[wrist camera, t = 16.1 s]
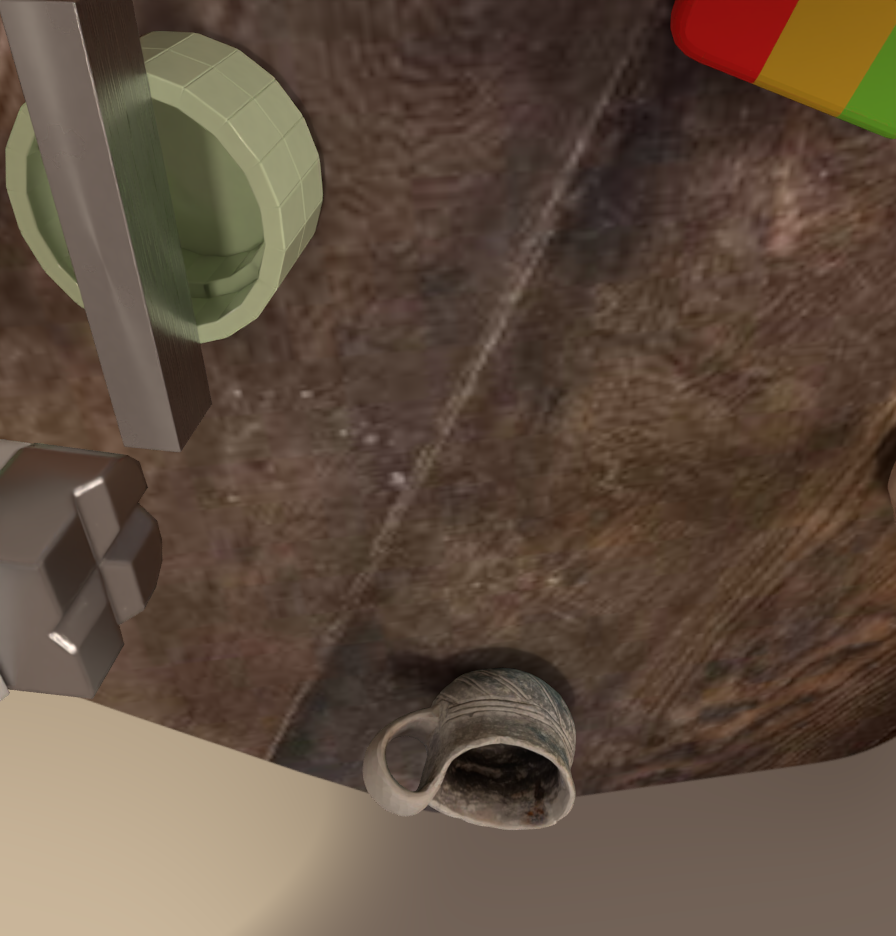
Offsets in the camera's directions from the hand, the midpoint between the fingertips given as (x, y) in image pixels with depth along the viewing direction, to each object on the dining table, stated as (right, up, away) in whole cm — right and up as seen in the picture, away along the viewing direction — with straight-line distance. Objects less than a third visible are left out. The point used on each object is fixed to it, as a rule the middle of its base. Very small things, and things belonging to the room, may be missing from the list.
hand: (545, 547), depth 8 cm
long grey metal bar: (-12, +10, +24) cm, 28 cm away
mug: (+1, -13, +47) cm, 49 cm away
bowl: (-11, +14, +28) cm, 33 cm away
